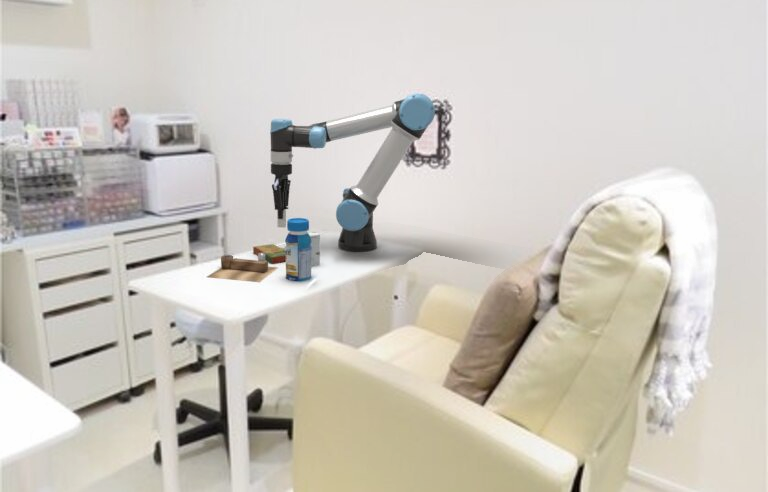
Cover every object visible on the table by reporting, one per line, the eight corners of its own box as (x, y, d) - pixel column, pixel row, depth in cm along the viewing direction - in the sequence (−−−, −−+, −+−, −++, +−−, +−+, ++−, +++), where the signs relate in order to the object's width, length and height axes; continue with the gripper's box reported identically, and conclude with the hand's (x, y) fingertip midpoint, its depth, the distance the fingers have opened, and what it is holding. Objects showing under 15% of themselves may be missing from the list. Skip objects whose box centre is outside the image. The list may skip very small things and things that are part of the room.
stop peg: (266, 267, 198) (266, 252, 197) (264, 269, 196) (263, 254, 194) (260, 266, 198) (259, 252, 197) (257, 268, 196) (256, 254, 195)
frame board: (278, 270, 198) (278, 267, 198) (259, 285, 183) (259, 282, 183) (228, 266, 202) (228, 263, 201) (206, 280, 186) (205, 277, 186)
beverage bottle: (311, 285, 185) (311, 223, 180) (284, 285, 184) (283, 222, 179) (312, 276, 193) (312, 217, 188) (286, 276, 192) (285, 216, 187)
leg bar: (219, 267, 195) (218, 256, 194) (225, 264, 198) (224, 252, 197) (263, 272, 191) (263, 260, 190) (268, 269, 195) (268, 257, 194)
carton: (274, 254, 219) (273, 243, 218) (293, 265, 206) (293, 253, 205) (252, 257, 214) (252, 246, 213) (271, 268, 201) (271, 256, 200)
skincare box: (304, 271, 199) (304, 236, 196) (298, 267, 202) (298, 233, 199) (320, 268, 202) (320, 234, 199) (314, 265, 206) (314, 231, 202)
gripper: (284, 165, 204) (284, 231, 210) (297, 161, 217) (297, 224, 223) (264, 164, 206) (265, 230, 212) (278, 160, 218) (278, 222, 224)
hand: (281, 226), depth 217 cm, fingers closed
